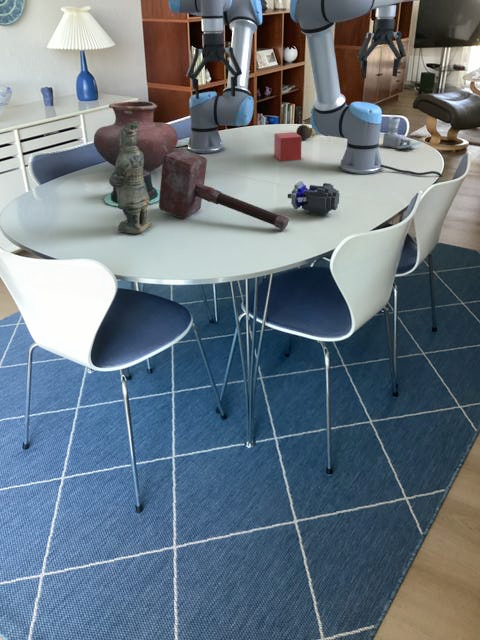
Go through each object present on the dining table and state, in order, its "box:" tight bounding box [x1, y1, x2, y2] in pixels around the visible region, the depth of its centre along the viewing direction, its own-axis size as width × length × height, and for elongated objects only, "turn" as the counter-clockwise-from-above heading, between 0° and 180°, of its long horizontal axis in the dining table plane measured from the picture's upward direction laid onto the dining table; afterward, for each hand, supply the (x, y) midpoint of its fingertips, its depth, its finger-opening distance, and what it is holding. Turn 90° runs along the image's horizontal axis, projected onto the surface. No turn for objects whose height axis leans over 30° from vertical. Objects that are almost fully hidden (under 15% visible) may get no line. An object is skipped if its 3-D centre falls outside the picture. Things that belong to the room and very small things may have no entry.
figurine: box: [295, 120, 317, 141], centre depth 261 cm, size 13×8×25 cm
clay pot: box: [93, 100, 179, 172], centre depth 208 cm, size 30×30×25 cm
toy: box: [287, 180, 341, 216], centre depth 168 cm, size 9×9×15 cm
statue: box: [108, 121, 153, 235], centre depth 154 cm, size 11×9×30 cm
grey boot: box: [382, 116, 422, 150], centre depth 236 cm, size 9×12×15 cm
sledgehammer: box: [158, 148, 290, 231], centre depth 163 cm, size 17×10×40 cm
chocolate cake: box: [103, 169, 160, 207], centre depth 186 cm, size 15×19×20 cm
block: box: [273, 131, 303, 162], centre depth 226 cm, size 9×9×9 cm
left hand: (215, 97), depth 204 cm, fingers open, 13 cm apart
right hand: (379, 77), depth 227 cm, fingers open, 13 cm apart
